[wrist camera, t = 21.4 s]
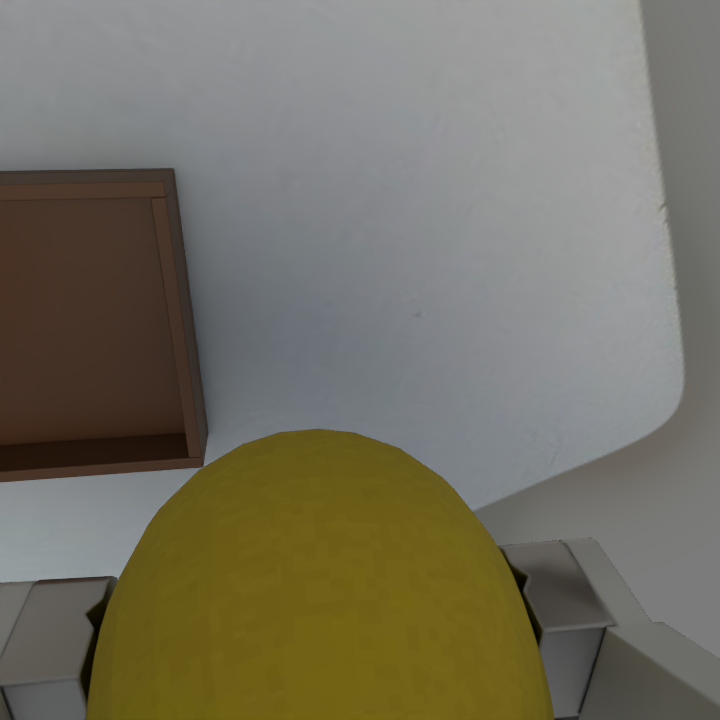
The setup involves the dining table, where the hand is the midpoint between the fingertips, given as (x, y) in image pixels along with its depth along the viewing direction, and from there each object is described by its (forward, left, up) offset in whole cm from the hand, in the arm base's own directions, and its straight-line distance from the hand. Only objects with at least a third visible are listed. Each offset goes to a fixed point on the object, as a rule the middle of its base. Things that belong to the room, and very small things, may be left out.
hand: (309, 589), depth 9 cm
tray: (-4, +13, -20) cm, 24 cm away
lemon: (0, 0, -3) cm, 3 cm away
